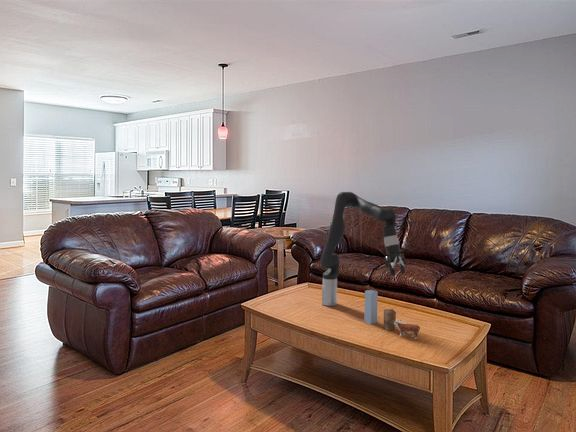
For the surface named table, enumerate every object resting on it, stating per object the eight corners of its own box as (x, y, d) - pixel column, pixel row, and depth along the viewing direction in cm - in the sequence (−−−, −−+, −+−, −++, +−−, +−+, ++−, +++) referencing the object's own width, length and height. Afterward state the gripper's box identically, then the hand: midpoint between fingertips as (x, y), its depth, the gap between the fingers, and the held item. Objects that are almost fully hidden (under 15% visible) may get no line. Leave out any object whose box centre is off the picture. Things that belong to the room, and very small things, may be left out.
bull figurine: (394, 332, 221) (394, 317, 220) (420, 338, 214) (420, 322, 213) (391, 335, 217) (392, 320, 216) (418, 340, 210) (418, 325, 209)
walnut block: (386, 330, 224) (386, 312, 223) (383, 326, 229) (383, 309, 228) (395, 330, 225) (395, 312, 224) (392, 326, 230) (392, 309, 229)
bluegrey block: (370, 324, 233) (371, 292, 231) (364, 321, 237) (364, 290, 235) (376, 322, 236) (377, 291, 234) (370, 319, 240) (371, 289, 238)
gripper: (394, 244, 232) (400, 273, 229) (378, 247, 223) (384, 277, 220) (405, 242, 226) (412, 272, 223) (389, 244, 217) (395, 275, 214)
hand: (398, 274), depth 222 cm, fingers open, 8 cm apart
